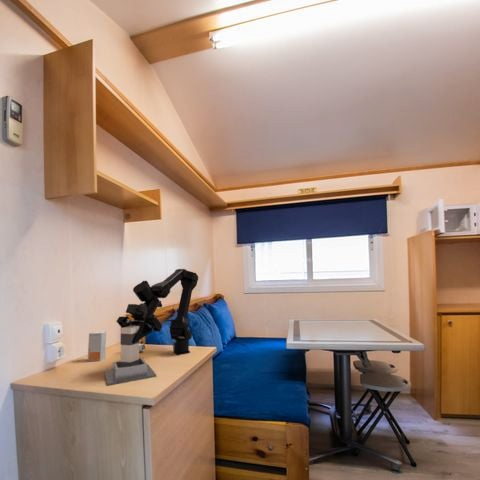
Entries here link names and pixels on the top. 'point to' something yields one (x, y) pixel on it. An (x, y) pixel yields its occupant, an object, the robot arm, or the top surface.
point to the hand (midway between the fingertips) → (127, 342)
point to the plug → (129, 344)
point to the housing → (128, 372)
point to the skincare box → (96, 346)
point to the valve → (141, 347)
